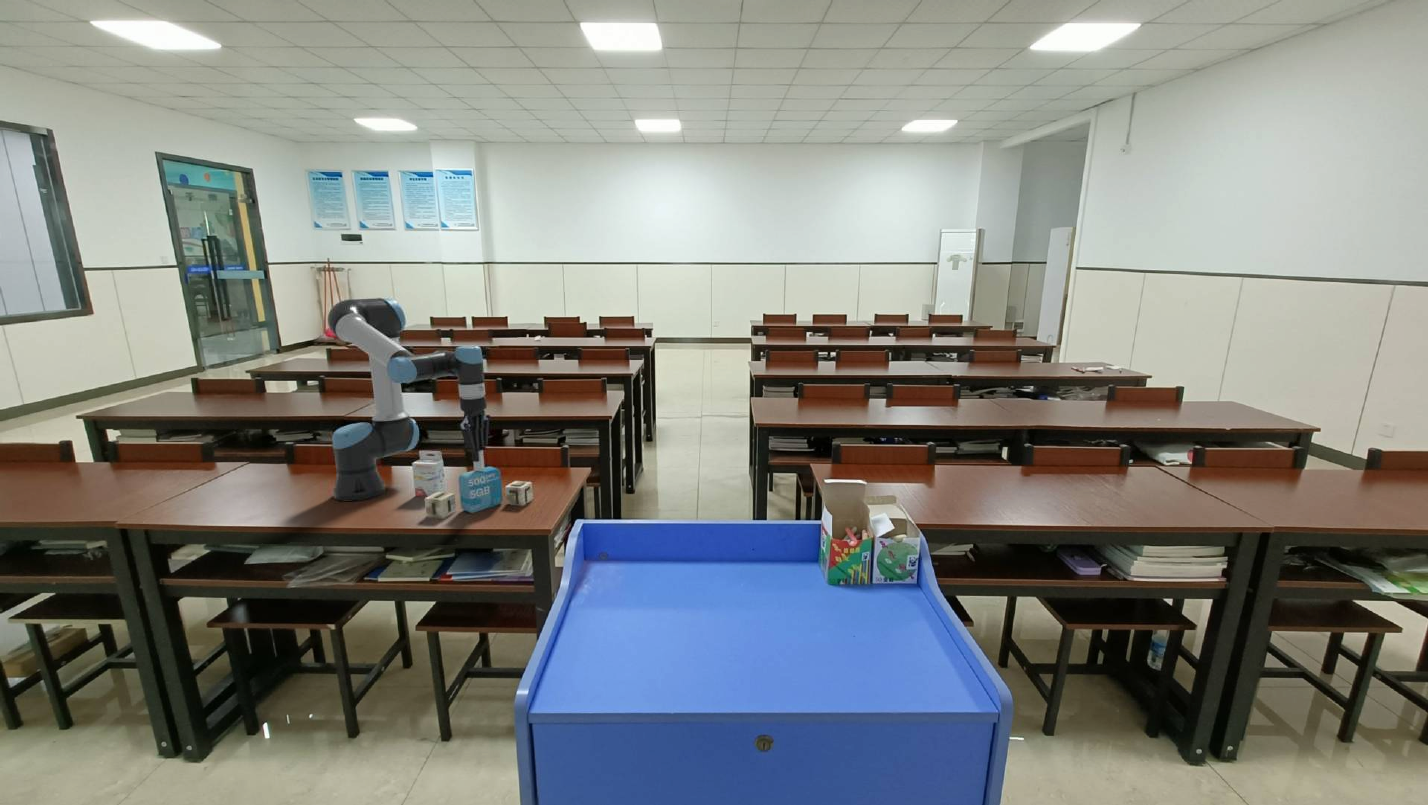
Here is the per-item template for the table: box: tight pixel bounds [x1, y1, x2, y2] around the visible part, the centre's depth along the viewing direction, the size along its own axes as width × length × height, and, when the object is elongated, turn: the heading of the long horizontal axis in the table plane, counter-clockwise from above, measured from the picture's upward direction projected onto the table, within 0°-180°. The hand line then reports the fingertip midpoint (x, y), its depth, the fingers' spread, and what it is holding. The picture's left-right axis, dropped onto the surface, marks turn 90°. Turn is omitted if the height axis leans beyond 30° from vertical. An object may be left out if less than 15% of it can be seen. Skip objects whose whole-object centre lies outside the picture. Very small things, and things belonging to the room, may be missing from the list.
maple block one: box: [424, 492, 457, 520], centre depth 191 cm, size 6×6×6 cm
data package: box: [458, 466, 504, 514], centre depth 196 cm, size 12×4×12 cm, turn 141°
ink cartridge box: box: [411, 450, 447, 498], centre depth 207 cm, size 9×5×15 cm, turn 84°
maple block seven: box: [504, 480, 534, 507], centre depth 201 cm, size 6×6×6 cm
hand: (479, 470), depth 194 cm, fingers closed
